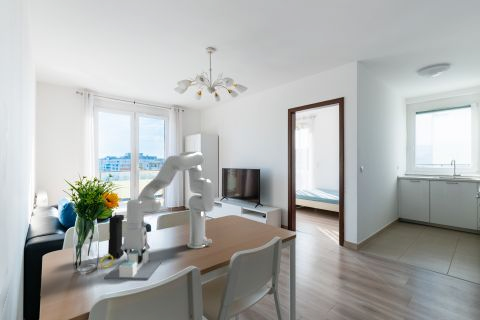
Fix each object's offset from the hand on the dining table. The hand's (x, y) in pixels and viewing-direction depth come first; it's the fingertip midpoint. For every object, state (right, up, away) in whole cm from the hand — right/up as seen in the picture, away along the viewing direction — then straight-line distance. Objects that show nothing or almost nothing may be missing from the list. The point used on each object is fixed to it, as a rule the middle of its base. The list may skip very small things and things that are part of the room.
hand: (135, 262), depth 112 cm
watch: (-16, -4, +4) cm, 17 cm away
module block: (0, -1, 0) cm, 1 cm away
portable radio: (-18, -4, +16) cm, 24 cm away
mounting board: (0, -4, 0) cm, 4 cm away
